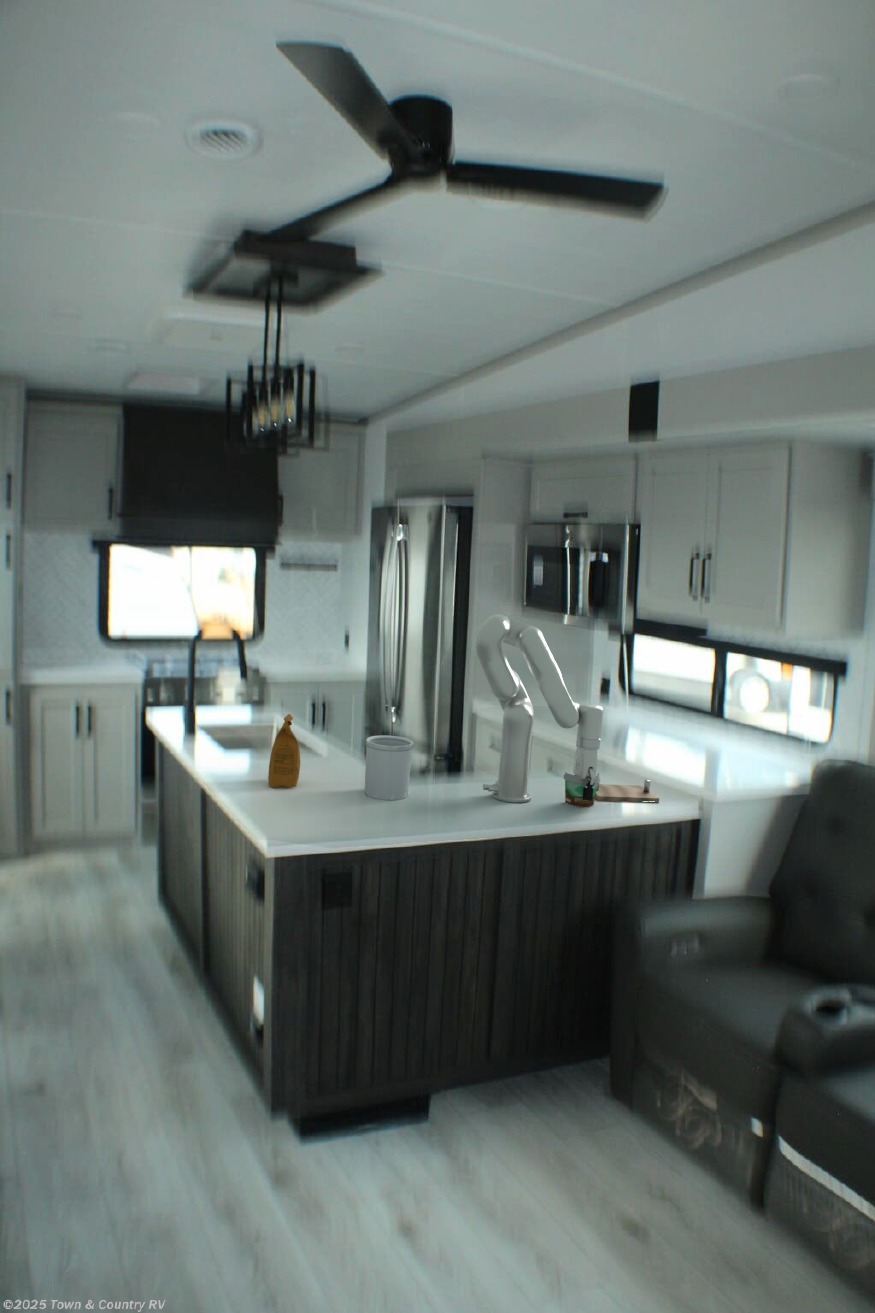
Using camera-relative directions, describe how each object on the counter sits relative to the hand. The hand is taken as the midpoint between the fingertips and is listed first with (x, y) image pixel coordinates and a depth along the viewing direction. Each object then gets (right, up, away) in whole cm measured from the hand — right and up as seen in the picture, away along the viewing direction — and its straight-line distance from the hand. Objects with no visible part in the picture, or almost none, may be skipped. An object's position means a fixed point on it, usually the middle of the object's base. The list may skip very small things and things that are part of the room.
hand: (583, 795), depth 320 cm
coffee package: (-96, +4, -3) cm, 96 cm away
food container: (0, -3, 0) cm, 3 cm away
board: (+15, -2, +17) cm, 23 cm away
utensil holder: (-63, +1, -5) cm, 63 cm away
